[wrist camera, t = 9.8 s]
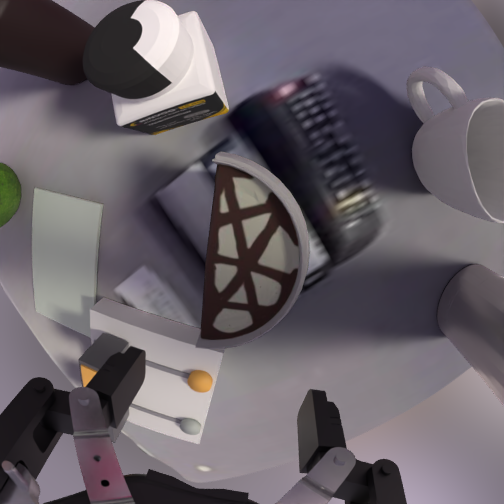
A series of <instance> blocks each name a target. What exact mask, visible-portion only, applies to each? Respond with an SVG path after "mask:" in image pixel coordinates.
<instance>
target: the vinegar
mask: <svg viewBox="0 0 504 504" xmlns="http://www.w3.org/2000/svg"><path fill="white" fill-rule="evenodd" d="M93 30H94V27H93V26H91V25H90V24H88V23H87V22H85V21H84V20H82V19H81V18H79V17H78V16H76V15H75V14H73V13H72V12H70V11H68V10H67V9H65V8H64V7H62V6H60V5H59V4H57V3H55V2H53V1H52V0H0V67H3V68H7V69H12V70H16V71H20V72H23V73H27V74H31V75H35V76H38V77H42V78H45V79H49V80H52V81H55V82H59V83H62V84H65V85H75V84H78V83H81V82H82V81H84V80H86V79H87V77H86V75H85V73H84V69H83V53H84V48H85V45H86V42H87V40H88V38H89V36H90V34H91V33H92V31H93Z"/></svg>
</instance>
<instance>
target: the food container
mask: <svg viewBox="0 0 504 504" xmlns="http://www.w3.org/2000/svg"><path fill="white" fill-rule="evenodd" d="M212 161H213V162H214V163H216V164H217V170H216V175H215V189H214V197H213V205H212V213H211V222H210V231H209V238H208V246H207V255H206V264H205V281H204V294H203V307H202V320H201V332H200V335H199V338H198V340H197V343H196V346H195V348H202V349H225V348H231V347H236V346H239V345H243V344H246V343H249V342H251V341H253V340H255V339H257V338H259V337H261V336H262V335H264V334H265V333H267V332H268V331H269V330H271V329H272V328H273V327H275V326H276V325H277V324H278V323H279V322H280V321H281V320H282V319H283V318H284V317H285V316H286V315H287V314H288V312H289V311H290V309H291V308H292V307H293V305H294V304H295V302H296V300H297V298H298V296H299V294H300V292H301V290H302V287H303V283H304V280H305V277H306V273H307V269H308V263H309V254H310V250H309V236H308V231H307V227H306V222H305V220H304V217H303V215H302V212H301V210H300V207H299V205H298V204H297V202H296V201H295V199H294V197H293V196H292V194H291V193H290V191H289V190H288V189H287V188H286V187H285V186H284V184H283V183H282V182H281V181H280V180H279V179H278V178H277V177H275V176H274V175H273V174H272V173H271V172H269V171H268V170H267V169H265V168H264V167H262V166H260V165H258V164H257V163H255V162H253V161H251V160H249V159H246V158H243V157H241V156H238V155H235V154H230V153H225V152H219V153H218V154H216V155H215V159H213V160H212Z"/></svg>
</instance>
